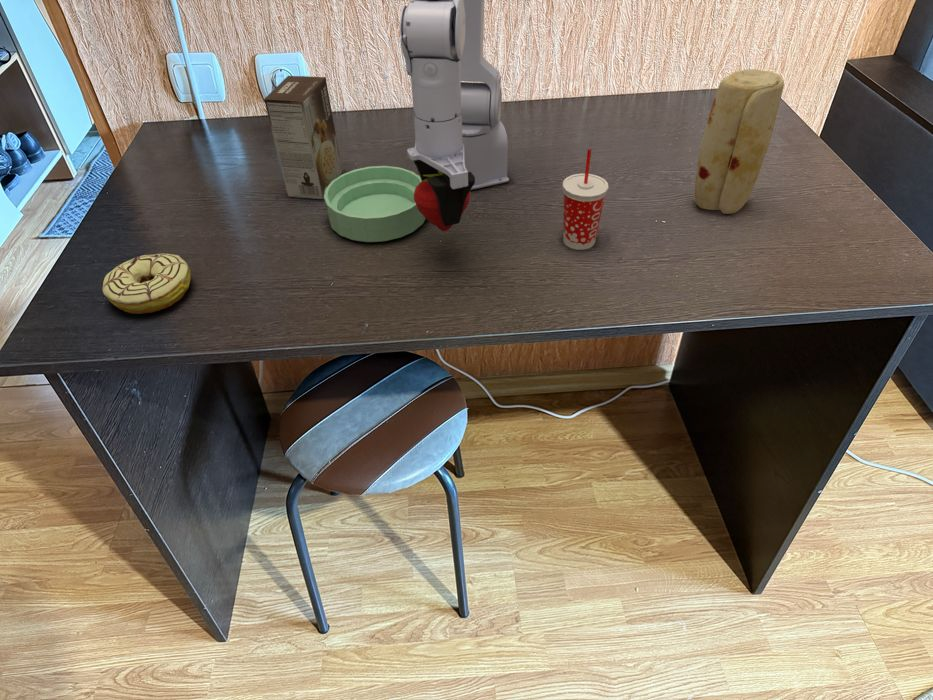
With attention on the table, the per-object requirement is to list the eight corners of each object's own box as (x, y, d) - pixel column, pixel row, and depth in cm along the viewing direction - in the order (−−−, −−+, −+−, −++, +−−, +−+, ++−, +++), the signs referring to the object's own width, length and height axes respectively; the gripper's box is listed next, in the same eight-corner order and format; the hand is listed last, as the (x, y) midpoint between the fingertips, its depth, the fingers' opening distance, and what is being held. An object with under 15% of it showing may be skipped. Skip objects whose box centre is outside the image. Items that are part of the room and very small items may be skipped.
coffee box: (307, 169, 110) (287, 73, 99) (343, 172, 109) (327, 76, 98) (286, 197, 104) (262, 98, 93) (324, 200, 103) (304, 100, 92)
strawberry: (413, 222, 90) (407, 155, 83) (466, 214, 91) (464, 148, 84) (420, 246, 86) (414, 177, 79) (476, 237, 87) (475, 169, 80)
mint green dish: (410, 184, 106) (408, 158, 103) (441, 231, 96) (439, 204, 93) (320, 203, 102) (315, 177, 99) (341, 254, 92) (336, 227, 89)
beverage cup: (573, 257, 90) (583, 165, 81) (549, 236, 94) (556, 145, 85) (609, 245, 92) (623, 153, 83) (584, 224, 96) (595, 134, 87)
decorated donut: (145, 264, 92) (135, 241, 89) (210, 277, 89) (202, 254, 86) (93, 309, 84) (80, 286, 82) (161, 325, 82) (151, 302, 79)
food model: (737, 191, 102) (776, 60, 88) (759, 213, 97) (804, 78, 84) (679, 198, 101) (709, 67, 87) (698, 221, 96) (733, 86, 82)
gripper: (388, 94, 81) (398, 191, 91) (424, 144, 71) (432, 246, 81) (441, 85, 83) (446, 181, 92) (484, 132, 73) (484, 234, 82)
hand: (443, 211), depth 87 cm, fingers closed on strawberry, 6 cm apart
